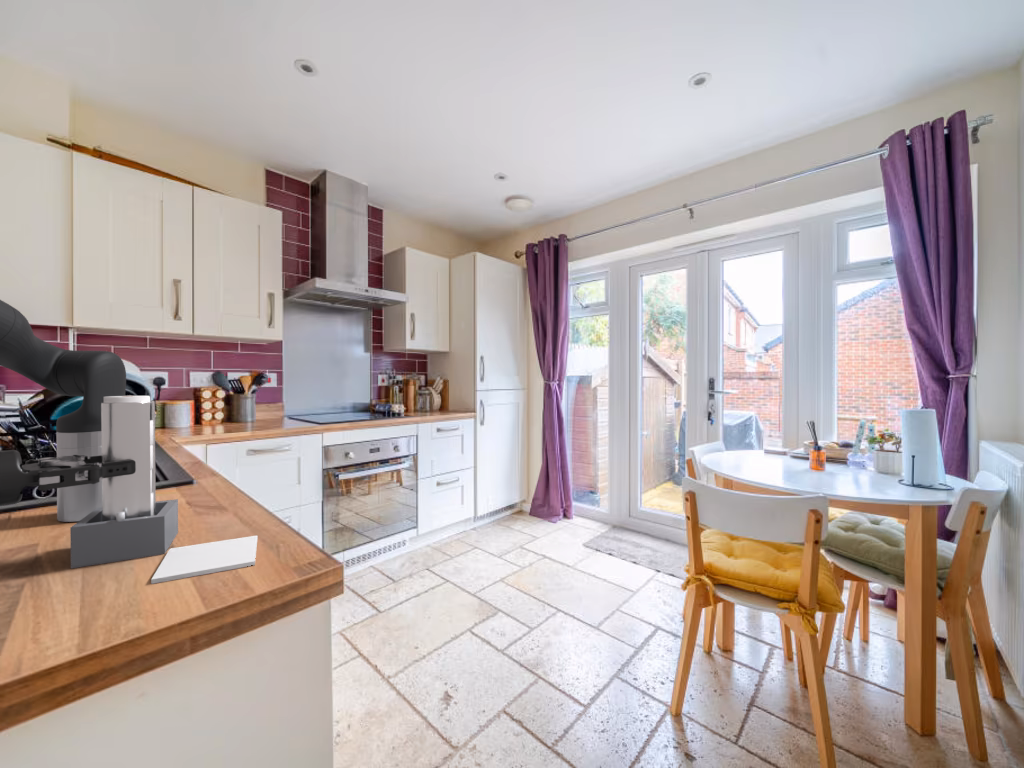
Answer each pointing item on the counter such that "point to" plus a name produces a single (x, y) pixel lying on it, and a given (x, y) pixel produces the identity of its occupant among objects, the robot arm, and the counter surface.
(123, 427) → the silver metal canister
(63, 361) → the robot arm
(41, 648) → the counter surface
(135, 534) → the housing collar
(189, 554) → the rubber mat
